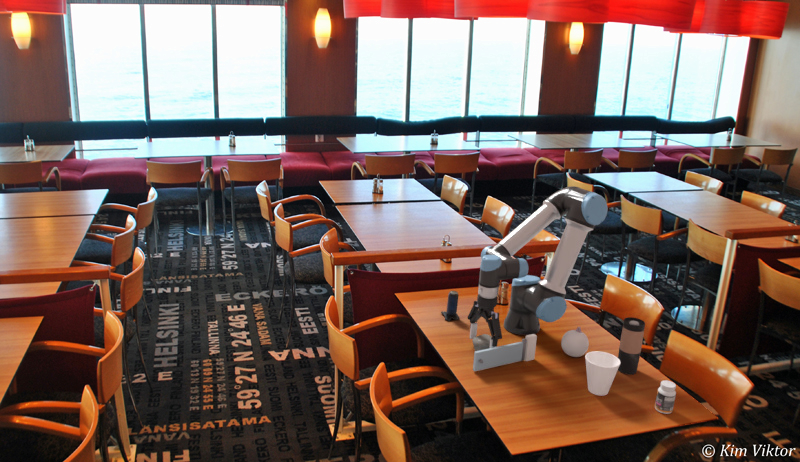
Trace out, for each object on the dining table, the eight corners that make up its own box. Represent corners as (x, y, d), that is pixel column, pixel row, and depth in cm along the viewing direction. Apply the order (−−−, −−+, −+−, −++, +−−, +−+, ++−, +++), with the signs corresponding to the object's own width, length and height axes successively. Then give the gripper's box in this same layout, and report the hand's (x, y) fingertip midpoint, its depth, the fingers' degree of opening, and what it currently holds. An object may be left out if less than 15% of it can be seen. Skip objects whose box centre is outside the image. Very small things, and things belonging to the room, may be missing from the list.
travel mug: (637, 367, 239) (645, 319, 233) (637, 376, 232) (645, 327, 226) (616, 363, 241) (623, 315, 236) (615, 372, 234) (623, 323, 229)
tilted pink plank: (531, 357, 243) (534, 333, 240) (534, 359, 242) (537, 335, 239) (523, 359, 241) (525, 335, 238) (525, 361, 240) (528, 337, 237)
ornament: (588, 352, 249) (592, 325, 245) (584, 363, 240) (588, 335, 236) (562, 346, 253) (566, 319, 249) (557, 357, 244) (561, 329, 240)
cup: (610, 403, 214) (615, 371, 210) (576, 392, 220) (580, 360, 216) (619, 388, 223) (624, 357, 220) (586, 378, 229) (590, 347, 226)
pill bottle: (651, 405, 214) (656, 379, 211) (667, 405, 214) (672, 379, 211) (659, 414, 208) (664, 388, 206) (675, 414, 209) (680, 388, 206)
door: (522, 358, 241) (524, 338, 239) (526, 361, 239) (528, 341, 236) (472, 369, 231) (474, 348, 228) (476, 372, 229) (478, 351, 226)
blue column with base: (462, 319, 274) (464, 294, 270) (446, 322, 271) (448, 296, 267) (453, 311, 282) (455, 286, 278) (437, 313, 279) (439, 288, 275)
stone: (503, 356, 243) (493, 336, 240) (482, 366, 243) (472, 346, 239) (496, 345, 251) (487, 325, 248) (476, 355, 251) (467, 336, 248)
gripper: (461, 284, 248) (457, 333, 254) (498, 308, 227) (492, 361, 233) (477, 282, 251) (472, 331, 257) (515, 306, 230) (509, 358, 236)
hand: (482, 345), depth 245 cm, fingers open, 13 cm apart
